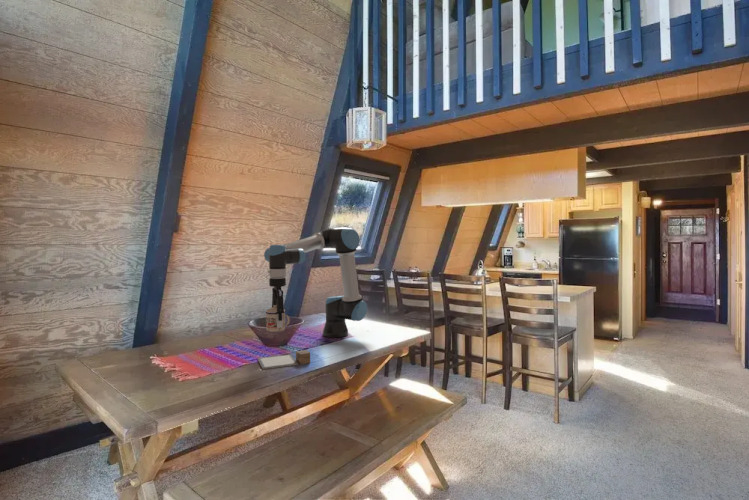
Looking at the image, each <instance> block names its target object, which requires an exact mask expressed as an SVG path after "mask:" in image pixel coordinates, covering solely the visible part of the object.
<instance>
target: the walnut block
mask: <svg viewBox="0 0 749 500" xmlns="http://www.w3.org/2000/svg"><path fill="white" fill-rule="evenodd" d="M295 360H296V361H297V362H298V365H306V364H311V352H310V351H308V350H307V349H304V350H300V351H299V350H298V351H295Z"/></svg>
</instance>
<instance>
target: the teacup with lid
mask: <svg viewBox="0 0 749 500" xmlns="http://www.w3.org/2000/svg"><path fill="white" fill-rule="evenodd" d="M276 312H277V305H274V306H273V307H272V306H271V307H270V308H269V309H267V310H265V323H266V324H265V328H266V329H265V330H266V331H267V332H276V333H277V332H282V331H285V329H286V326H288V325H289V324H290V321H291V318H290V316H288V314H286V309H284V313H283V327H281V328H277V314H276ZM286 319H287V321H286Z"/></svg>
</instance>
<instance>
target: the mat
mask: <svg viewBox="0 0 749 500" xmlns="http://www.w3.org/2000/svg"><path fill="white" fill-rule="evenodd" d="M257 360H258V361H257V362H259V364H260V366H261V368H262V370H269V369H277V368H285V367H292V366H298V365H299V364H298V362H297V361H296V358H295V357H294V356H293V354H292V353H291V354H290V353H288V354H281V355H272V356H262V357H261V356H260V357H257Z"/></svg>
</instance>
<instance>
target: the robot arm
mask: <svg viewBox="0 0 749 500" xmlns="http://www.w3.org/2000/svg"><path fill="white" fill-rule="evenodd" d="M360 239H361V238H360V235H359V233H358V231H356V229H354V228H350V227H330V228H327V229H324V230H321V231H318V232H315V233H313V235H311V236H308V237H304V238H302V239H299V240H295V241H292V242H289V243H285V244H271V245H270V246H269V247H268V248H266V249H265V251H264V255H263V256H264V260H265V261H266V262H268V265H269V266H268V267H269V270H268V271H267V273H269V277H270V278H269V280H268V283H269V287H272V294H271V295H272V297H271V298H272V299H271V301H272V302H271V308H272V307H273V306H274V305H277V312H276V314H277V328H281V327H283V313H284V310H285V307H284V306H285V305H284V291H283V290H282V287H286V285H287V284H286V283H287V278H286V277H287V265H294V264H295V265H299V264H302V263H304V262H305V260H306V256H307V255H306V253H308V252H312V251H314V250H323V249H335V253H336V254H337V255H338V257H339V266H340V272H341V280H342V289H343V295H335V296H329V297H327V298H326V299H325V323H324V327H323V330H322V335H323V336H324V337H326V338H344V337H348V335H349V330H348V326H347V323H346V320H349V321H353V322H355V321H356V322H360V321H363V319H364V318H365V317H366V315H367V313H368V303H367V302H366V301H364V300H363V297H362V295H361V294H360V292H359V284H358V274H357V267H356V266H357V265H356V258H355V253H356V252H357V249H358V248H359V246H360ZM323 336H322V337H323Z"/></svg>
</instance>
